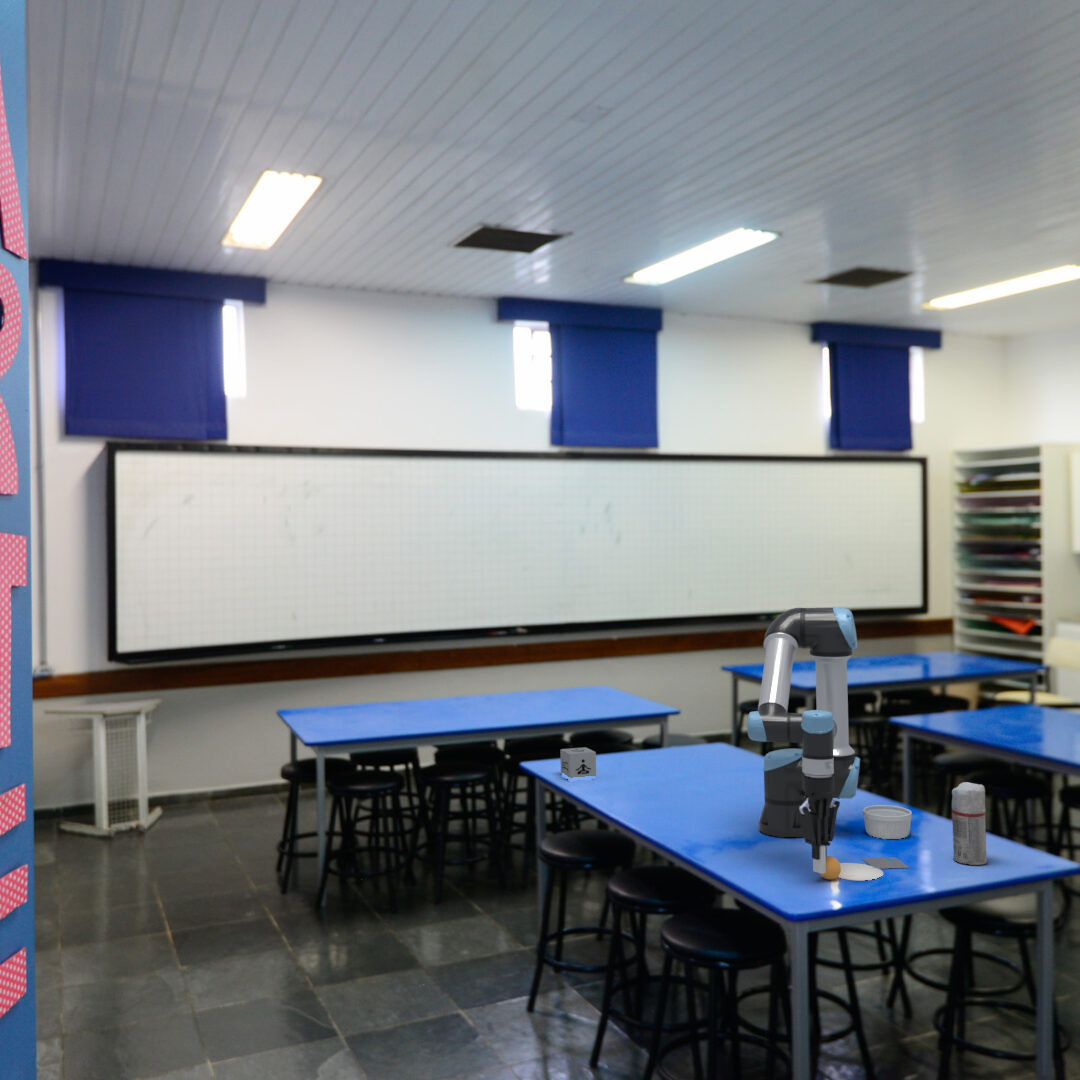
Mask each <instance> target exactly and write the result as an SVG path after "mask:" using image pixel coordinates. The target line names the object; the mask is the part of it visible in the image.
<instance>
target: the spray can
mask: <svg viewBox="0 0 1080 1080" xmlns="http://www.w3.org/2000/svg"><path fill="white" fill-rule="evenodd" d="M951 795H952V796H951V797H952V799H951V816H952V817H951V818H952V822H951V823H952V845H953V847H952V848H953V852H952V853H953V860H954V861H955V862H956V861H957V863H958V862H959V864H962V863H963V864H962V865H966V864H969V865H968V866H981V865H985V864H988V860H987V837H986V836H987V835H986V830H987V829H986V811H987V810H986V789H985V786H984V785H983V784H978V783H972V782H968V781H967V782H965V781H964V782H961V783H959V785H958V786H956V787H954V788H953V789H952V790H951Z"/></svg>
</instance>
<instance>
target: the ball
mask: <svg viewBox="0 0 1080 1080" xmlns="http://www.w3.org/2000/svg"><path fill="white" fill-rule="evenodd" d="M840 863H841V862H840V861H839V860H838V859H837V858H836V857H833V856H830V855H827V857H826V873H824V874H821V873H819V875H820V876H821V877H822V878H823V879H826V880H828V881H829V880H832V881H833V880H836V878H837V877H838V876H839V874H840V872H841V866H840ZM837 879H838V878H837Z"/></svg>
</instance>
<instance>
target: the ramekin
mask: <svg viewBox="0 0 1080 1080" xmlns="http://www.w3.org/2000/svg"><path fill="white" fill-rule="evenodd" d="M912 813H913V812H912V810H910V809H908V808H906V807H902V806H897V805H890V804H889V805H888V804H887V805H886V804H883V805H882V804H877V805H876V804H875V805H869V806H866V807H863V809H862V815H863V820H864V827H865V832H866V833H867V834H868V835H869V836H870V837H872V836H873V838H875V837H876V839H879V838H882V839H881V840H886V839H899V840H902V839H901V838H904V839H906V838H907V837H908V836H909V835H910V831H911V822H912V821H911V820H912V818H913V815H912ZM905 837H906V838H905Z"/></svg>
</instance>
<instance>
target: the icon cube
mask: <svg viewBox="0 0 1080 1080" xmlns="http://www.w3.org/2000/svg"><path fill="white" fill-rule="evenodd" d="M559 751H560V752H559V753H560V773H561V772H562V773H564V774H565V775H567V776H568V777H570V778H573V777H585V776H596V777H597V753H596V751H594V750H592V749H590V748H588V747H586V746H585V747H574V748H573V747H572V748H562V749H560V750H559Z"/></svg>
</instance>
